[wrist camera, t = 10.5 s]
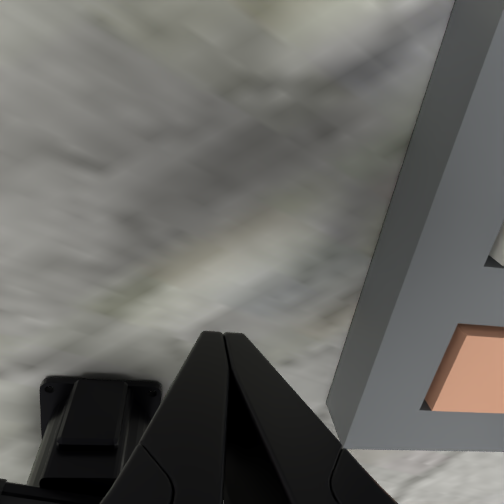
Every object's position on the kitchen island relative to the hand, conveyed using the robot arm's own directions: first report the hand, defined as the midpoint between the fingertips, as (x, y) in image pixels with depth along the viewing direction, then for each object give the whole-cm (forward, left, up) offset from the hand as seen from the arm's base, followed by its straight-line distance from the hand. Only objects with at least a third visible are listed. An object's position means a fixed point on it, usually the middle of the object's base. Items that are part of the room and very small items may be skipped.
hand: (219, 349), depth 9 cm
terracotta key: (-8, -16, -12) cm, 22 cm away
